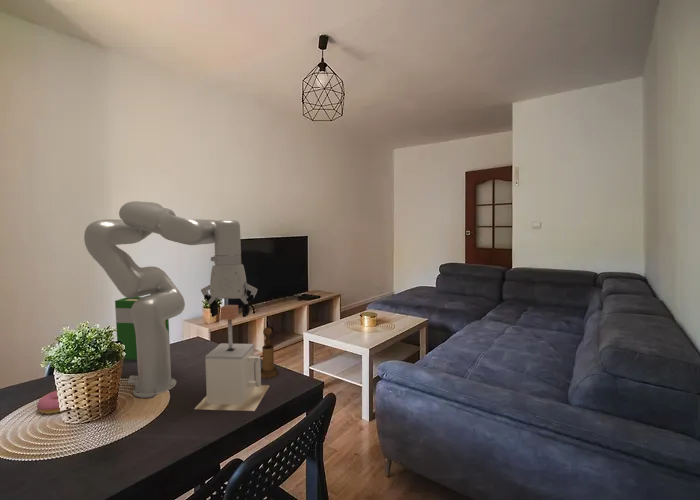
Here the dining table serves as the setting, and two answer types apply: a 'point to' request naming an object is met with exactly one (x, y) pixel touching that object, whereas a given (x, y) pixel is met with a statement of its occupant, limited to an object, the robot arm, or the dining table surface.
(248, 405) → the birch board
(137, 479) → the dining table surface
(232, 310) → the brown square-faced block
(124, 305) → the hardback book
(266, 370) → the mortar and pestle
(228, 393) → the press pot
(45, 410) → the doughnut
